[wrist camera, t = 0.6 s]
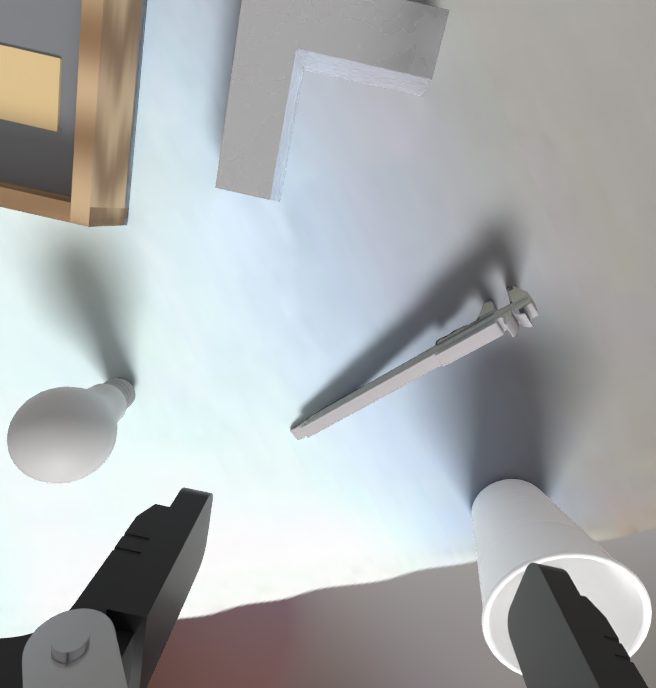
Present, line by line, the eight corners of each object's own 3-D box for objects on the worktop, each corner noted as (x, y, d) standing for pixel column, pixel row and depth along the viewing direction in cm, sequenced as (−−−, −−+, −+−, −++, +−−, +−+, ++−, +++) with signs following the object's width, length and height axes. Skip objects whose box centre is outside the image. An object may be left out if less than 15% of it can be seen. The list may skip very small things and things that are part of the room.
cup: (515, 576, 40) (573, 708, 29) (423, 519, 39) (449, 634, 28) (595, 496, 37) (690, 609, 27) (499, 433, 36) (558, 523, 26)
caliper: (510, 283, 33) (545, 299, 27) (518, 295, 33) (554, 313, 27) (290, 428, 37) (278, 469, 31) (298, 438, 38) (287, 481, 32)
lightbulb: (76, 399, 37) (-33, 472, 27) (105, 338, 36) (1, 390, 25) (143, 435, 38) (61, 520, 27) (174, 378, 36) (100, 444, 26)
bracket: (261, -3, 29) (246, -37, 25) (436, 37, 29) (449, 9, 25) (232, 190, 32) (215, 187, 28) (389, 226, 32) (394, 228, 28)
